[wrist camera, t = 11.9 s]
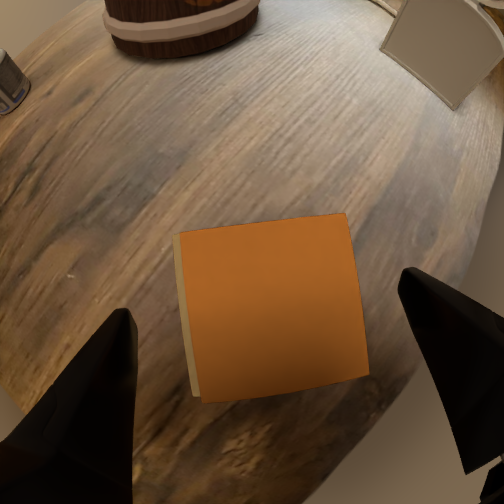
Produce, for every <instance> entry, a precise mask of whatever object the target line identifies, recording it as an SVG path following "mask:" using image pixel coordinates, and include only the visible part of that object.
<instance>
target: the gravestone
mask: <svg viewBox="0 0 504 504" xmlns="http://www.w3.org/2000/svg"><path fill="white" fill-rule="evenodd" d="M480 2H481V3H483V4H485V5H487V6H490V7H493V8H498V9H504V1H493V0H404V1H403V3H402V5H401V7H400V9H399V11H398V13H397V15H396V17H395V19H394V21H393V23H392V25H391V27H390V29H389V31H388V33H387V35H386V37H385V39H384V41H383V43H382V45H381V47H380V49H379V50H381V51H382V52H384V53H385V54H386V55H388V56H389V57H391V58H392V59H393V60H395V61H396V62H397V63H399V64H400V65H401V66H403V67H404V68H405V69H406V70H408V71H409V72H410V73H411V74H413V75H414V76H415V77H416V78H418V79H419V80H420V81H421V82H422V83H423V84H425V85H426V86H427V87H428V88H429V89H430V90H432V91H433V92H434V93H435V94H436V95H437V96H438V97H439V98H440V99H441V100H443V101H444V102H445V103H446V104H447V105H448V106H449V107H450V108H451V109H452V110H454V109H455V108H456V107H457V106H458V105H459V104H460V103H461V102H462V101H463V100H464V99H465V98H466V97H467V96H468V95H469V94H470V93H471V92H472V91H473V90H474V89H475V87H476V86H477V85H478V84H479V83H480V82H481V81H482V80H483V79H484V78H485V77H486V76H487V75H488V74H489V72H490V71H491V70H492V69H493V68H494V67H495V66H496V65H497V64H498V63H499V62H500V60H501V59H502V58H503V57H504V37H503V35H502V33H501V31H500V30H499V28H498V26H497V25H496V23H495V22H494V21H493V20H492V18H491V17H490V16H489V15H488V14H487V13H486V12H485V11H484V10H483V9H482V8H481V6H480V5H479V3H480Z"/></svg>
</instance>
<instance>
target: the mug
mask: <svg viewBox="0 0 504 504" xmlns="http://www.w3.org/2000/svg"><path fill="white" fill-rule="evenodd" d="M259 3H260V0H105V5H106V6H105V9H104V12H103V21H104V25H105V27H106V29H107V31H108V32H109V33H111V35H112V38H113V41H114V43H115V45H116V47H117V48H118V49H120V50H122V51H123V52H125V53H127V54H129V55H133V56H140V57H146V58H152V59H157V58H178V57H183V56H188V55H193V54H199V53H202V52H205V51H208V50H211V49H214V48H217V47H220V46H223V45H224V44H226V43H228V42H229V41H231V40H233V39H235V38H236V37H238V36H240V35H242V34H244V33H245V32H246V31H247V30H248V29H249V28H250V27H251V26H252V25H253V24H254V23H255V22H256V19H257V15H258V11H259V8H258V4H259Z"/></svg>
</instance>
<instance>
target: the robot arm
mask: <svg viewBox="0 0 504 504" xmlns="http://www.w3.org/2000/svg"><path fill="white" fill-rule="evenodd" d="M398 295H399V297H400V300H401V302H402V305H403V308H404V310H405V313H406V316H407V319H408V322H409V324H410V327H411V330H412V332H413V334H414V336H415V339H416V341H417V343H418V345H419V347H420V350H421V352H422V354H423V356H424V359H425V361H426V363H427V366H428V368H429V370H430V373H431V375H432V378H433V380H434V383H435V385H436V388H437V390H438V392H439V395H440V398H441V401H442V403H443V406H444V409H445V412H446V414H447V417H448V420H449V423H450V426H451V429H452V432H453V435H454V438H455V442H456V445H457V448H458V451H459V454H460V458H461V461H462V465H463V469H464V472H465V474H466V475H467V474H469V473H471V472H473V471H475V470H476V469H478V468H480V467H482V466H483V465H485V464H487V463H488V462H490V461H492V460H493V459H495V458H497V457H498V456H500V457H501V459H502V461H500V462H499V463H498V464H497V465H495V466H494V467H493V468H491V469H490V470H489V472H488V475H487V479H486V481H485V485H484V487H483V490H482V492H481V495H480V500H481V502H480V503H479V504H504V318H503V317H501V316H499V315H498V314H496V313H495V312H492V311H491V310H490V309H488V308H486V307H484V306H483V305H481V304H480V303H478V302H476V301H474V300H473V299H471V298H469V297H468V296H466V295H464V294H462V293H461V292H459V291H457V290H455V289H454V288H452V287H450V286H448V285H447V284H445V283H443V282H441V281H439V280H438V279H436V278H434V277H432V276H430V275H428V274H427V273H425V272H423V271H421V270H419V269H417V268H415V267H409V268H405V269H403V271H402V274H401V277H400V281H399V284H398ZM137 375H138V329H137V325H136V323H135V321H134V319H133V317H132V315H131V313H130V311H129V309H127V308H119V309H115V310H114V311H113V312H112V313H111V315H110V316H109V317H108V318H107V319H106V320H105V321H104V322H103V324H102V325H101V326H100V327H99V328H98V329H97V331H96V332H95V333H94V334H93V335H92V336H91V338H90V339H89V340H88V341H87V342H86V343H85V345H84V346H83V347H82V348H81V349H80V351H79V352H78V353H77V354H76V355H75V357H74V358H73V359H72V360H71V361H70V363H69V364H68V365H67V366H66V368H65V369H64V370H63V371H62V372H61V374H60V375H59V376H58V377H57V379H56V380H55V381H54V383H53V384H52V385H51V386H50V388H49V389H48V390H47V391H46V393H45V394H44V395H43V396H42V398H41V399H40V400H39V401H38V403H37V404H36V405H35V406H34V407H33V408H32V409H31V411H30V412H29V413H28V414H27V415H26V416H25V417H24V418H23V420H22V421H21V422H20V423H19V424H18V425H17V426H16V428H15V429H14V430H13V431H12V432H11V433H10V434H9V435H8V436H7V437H6V438H5V439H4V440H3V441H1V442H0V504H133V495H132V453H133V428H134V412H135V398H136V387H137Z"/></svg>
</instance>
